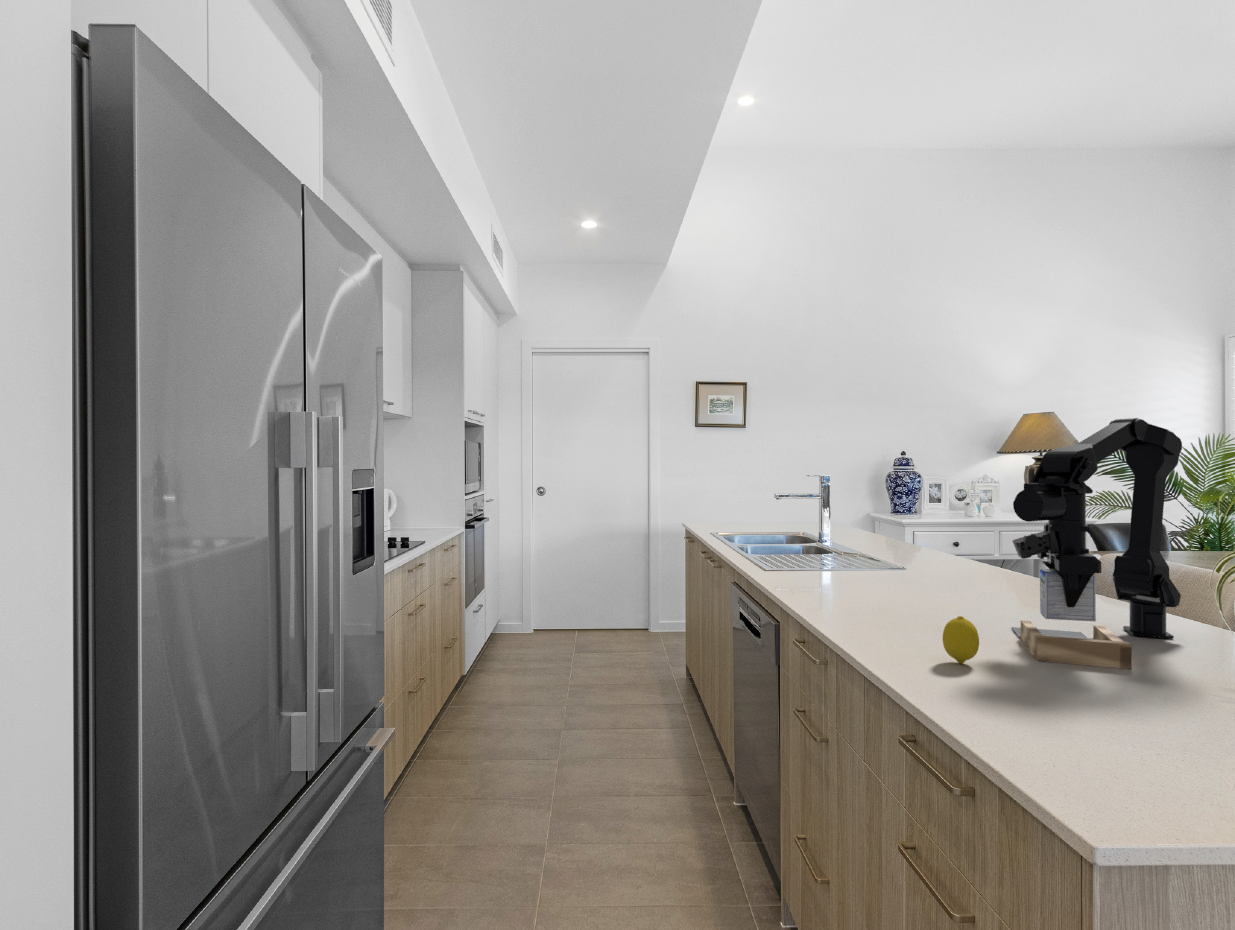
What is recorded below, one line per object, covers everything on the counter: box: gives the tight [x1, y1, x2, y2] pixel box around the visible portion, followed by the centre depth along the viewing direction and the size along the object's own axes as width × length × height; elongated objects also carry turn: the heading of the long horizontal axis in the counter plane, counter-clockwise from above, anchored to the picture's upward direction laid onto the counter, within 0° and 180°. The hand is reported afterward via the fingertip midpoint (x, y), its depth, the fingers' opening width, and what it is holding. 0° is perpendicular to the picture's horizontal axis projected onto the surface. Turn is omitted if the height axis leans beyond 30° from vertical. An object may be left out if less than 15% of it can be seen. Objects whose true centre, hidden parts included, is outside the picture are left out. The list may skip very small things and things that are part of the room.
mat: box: [1010, 626, 1088, 639], centre depth 134 cm, size 8×12×1 cm, turn 69°
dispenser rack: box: [1020, 619, 1133, 670], centre depth 123 cm, size 16×13×4 cm
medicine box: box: [1039, 568, 1097, 623], centre depth 126 cm, size 8×4×9 cm, turn 71°
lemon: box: [942, 615, 980, 665], centre depth 117 cm, size 6×6×8 cm
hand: (1067, 604), depth 126 cm, fingers closed on medicine box, 4 cm apart
